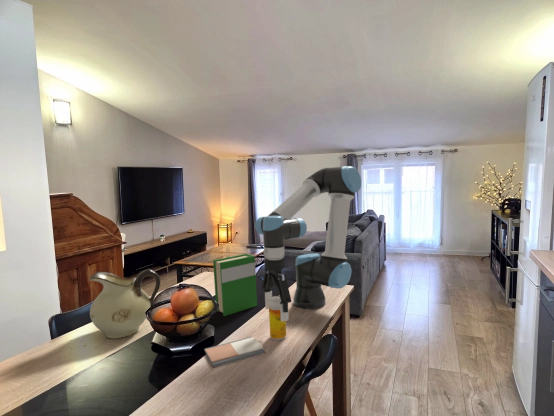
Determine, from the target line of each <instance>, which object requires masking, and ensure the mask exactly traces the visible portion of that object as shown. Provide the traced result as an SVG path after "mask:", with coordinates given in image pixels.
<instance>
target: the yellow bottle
mask: <svg viewBox="0 0 554 416" xmlns="http://www.w3.org/2000/svg"><path fill="white" fill-rule="evenodd" d="M280 302H281V299H280V296H279V295H272V297H270V298H269V301H268V303H269V309H268V319H269V320H268V321H269V337H270V338H271V339H272V340H274V341H282V340H284V339H285V338H286V336H287V320H286V321H281V312H280Z"/></svg>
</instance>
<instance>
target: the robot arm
mask: <svg viewBox="0 0 554 416" xmlns="http://www.w3.org/2000/svg"><path fill="white" fill-rule="evenodd" d="M361 187H362V176H361V174H360V172H359V170H358V169H357V168H356V167H354V166H352V165H351V166H349V165H347V166H346V165H343V166H335V167H324V168H320V169H319V170H317V171H315V172H314V173H312V174H311V175H309V176H308V177H307V178H305V180H303V182H302V185H301V186H300V187H299V188H298V189H296V190H295V191H294V192H293V193H292V194H291V195H290V196H289V197H288V198H286V199H285V200H284V201H283V202H282V203H281V204H280V205H278V206H277V207H276V208H275V209H274V210H273V211H272V212H271V213H269V214H268V215H266V216H261V217H259V218H257V220H256V221H255V224H254V225H255V227H254V228H255V230H256V232H257V233H258V234H259V235H262V237H263V251H262V252H263V256H264V260H263V261H264V273H263V278H262V285H261V288H262V290H263V291H264V303H265V309H266V310H269V303H268V301H269V298H270V297H273V289H272V288H273V286H274V287H276V291H277V292H278V296H280V299H281V302H280V312H281V321H286V322H287V321H289V303H292V297H291V293H290V290H289V289H290V288H289V285H288V281H287V274H286V273H282V270H284V269H286V261H285V260H286V259H285V258H284V257H285V254H286V253H285V241H286V240H291V239H299V238H300V237H303V236H305V235H306V233H307V229H308V226H307V223H306V221H305V220H304V219H303V218H301V217H295V216H296V214H298V212H300V211H301V210H302V209H303V208H304V207H305V206H306V205H307V204H308V203H309V202H310V201H311V200H313V199H314V198H317V197H319V196H320V195H321V194H325V193H328V197H329V198H330V205H329V215H328V223H327V229H326V230H327V231H326V232H327V233H326V239H325V249H324V252H323V253H321V254H319V253H308V254H307V253H306V254H301V255H298V256H297V257H295V265H294V267H295V282H296V283H295V284H296V286H295V287H296V289H295V292H294V294H293V305H294V306H295V307H297V308H301V309H308V310H309V309H317V308H321V307H323V306H325V304H327V303H326V296H325V293H324V291H323V287H322V286H324V287H329V288H330V289H333V288H334V289H339V290H340V289H343V288H344V287H346V286H347V285H348V283H349V282H350V280H351V276H352V273H353V272H352V268H351V267H352V266H351V264H350V263H349V262H348V257H347V256H346V254H345V253H346V252H345V251H346V242H347V235H348V234H347V232H348V225H349V217H350V208H351V207H350V206H351V202H352V200H353V199H354V198H355V194H357V193H358V192H359V191H360V189H361ZM293 217H294V218H293Z"/></svg>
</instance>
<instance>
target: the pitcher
mask: <svg viewBox="0 0 554 416" xmlns="http://www.w3.org/2000/svg"><path fill="white" fill-rule="evenodd" d="M146 277H152V278H153V279H154V281H155V287H154V290H153V291H152V293H151V295H150V296H149V294H148V293H147V292H146V291H145V290H143V289H142V288H141V287H142V282H143V279H145V278H146ZM89 281H94V282H98V283H100V284H101V285H102V286H103V288H102V291H100V293H99V294H98V295H97V297H96V298H94V301H93V302H92V304H91V306H90V309H89V317H90V320H91V322H92V324H93V325H94V326H95V327H96V328H97V329H98V330H99V331H100V332H102V333H104V334H105V337H106V338H108V337H109V339H122V337H123V338H126V336H127V337H130V336H131V335H134V334H135V333H137V332H138V331H139V330H140V327H141V326H142V324H143V323H144V322H146V321H145V320H147V318H146V316H145V312H146V311H147V310H148V309H149V308H150V307H151V305H152V303H153V304H154V301H155V297H156V295H157V294H158V292H159V290H160V287H161V278H160V275H159V274H158V273H157V272H156V271H154V270H152V269H150V268H147V269H145V270H143V271H142V270H141V272H139V273H138V274H137V275H136V277H135V276H134V277H132V278H129V277H128V278H126V277H122V276H119V275H117V274H116V275H115V274H114V273H111V272H107V271H97V272H96V273H94V274H92V275H91V276H90V277H89ZM129 335H130V336H129Z"/></svg>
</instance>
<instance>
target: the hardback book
mask: <svg viewBox="0 0 554 416" xmlns="http://www.w3.org/2000/svg"><path fill="white" fill-rule="evenodd" d="M255 257H256V256H255V255H253V254H249V253H242V254H238V255H232V256H228V257H224V258H218V259H213V260H212V264H213V279H214V280H213V281H214V293H215V297H214V298H215V303H216V302H217V303H218V304H219V308H218V311H217V312H216V313H219V312H221V313H222V316H223V317H227V316H229V315H232V314H236V313H238V312H242V311H245V310H248V309H252V308H255V307H257V306H258V295H257V294H258V293H257V277H256V276H257V275H256V258H255Z"/></svg>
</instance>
